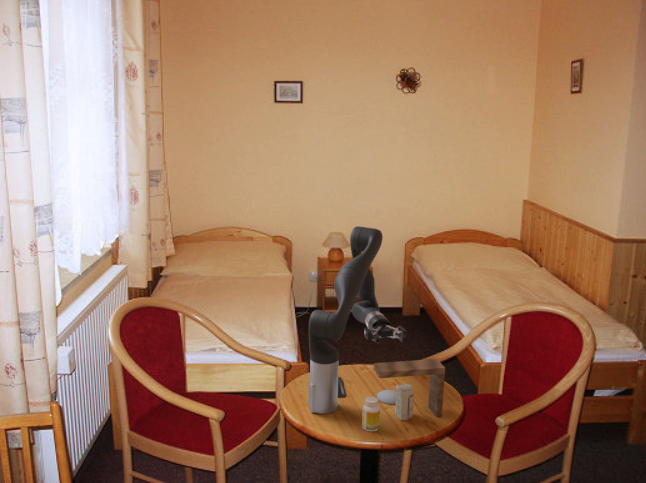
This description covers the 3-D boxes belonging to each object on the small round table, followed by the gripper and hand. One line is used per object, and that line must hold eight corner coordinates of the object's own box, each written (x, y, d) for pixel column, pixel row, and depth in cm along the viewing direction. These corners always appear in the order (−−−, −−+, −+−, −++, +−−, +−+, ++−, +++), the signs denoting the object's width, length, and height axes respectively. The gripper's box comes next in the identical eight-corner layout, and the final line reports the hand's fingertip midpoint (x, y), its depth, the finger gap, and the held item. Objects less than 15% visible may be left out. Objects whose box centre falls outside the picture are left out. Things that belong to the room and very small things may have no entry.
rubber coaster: (381, 405, 205) (381, 404, 205) (373, 392, 215) (373, 390, 215) (410, 403, 207) (410, 401, 207) (400, 390, 217) (400, 388, 217)
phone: (341, 376, 225) (345, 395, 211) (341, 379, 226) (345, 398, 211) (319, 376, 225) (322, 395, 210) (319, 379, 225) (322, 398, 210)
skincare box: (413, 419, 197) (415, 390, 195) (400, 420, 196) (402, 391, 194) (407, 411, 202) (408, 383, 200) (394, 413, 201) (396, 384, 198)
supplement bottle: (358, 427, 191) (359, 398, 189) (370, 421, 195) (371, 393, 193) (370, 434, 188) (372, 405, 185) (382, 428, 191) (383, 399, 189)
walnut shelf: (377, 422, 194) (380, 372, 191) (371, 411, 201) (373, 363, 197) (441, 416, 199) (445, 367, 195) (433, 406, 205) (436, 358, 202)
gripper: (359, 315, 223) (371, 331, 207) (396, 313, 226) (411, 329, 210) (358, 334, 225) (370, 352, 209) (395, 332, 227) (410, 349, 212)
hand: (391, 340), depth 210 cm, fingers open, 8 cm apart
